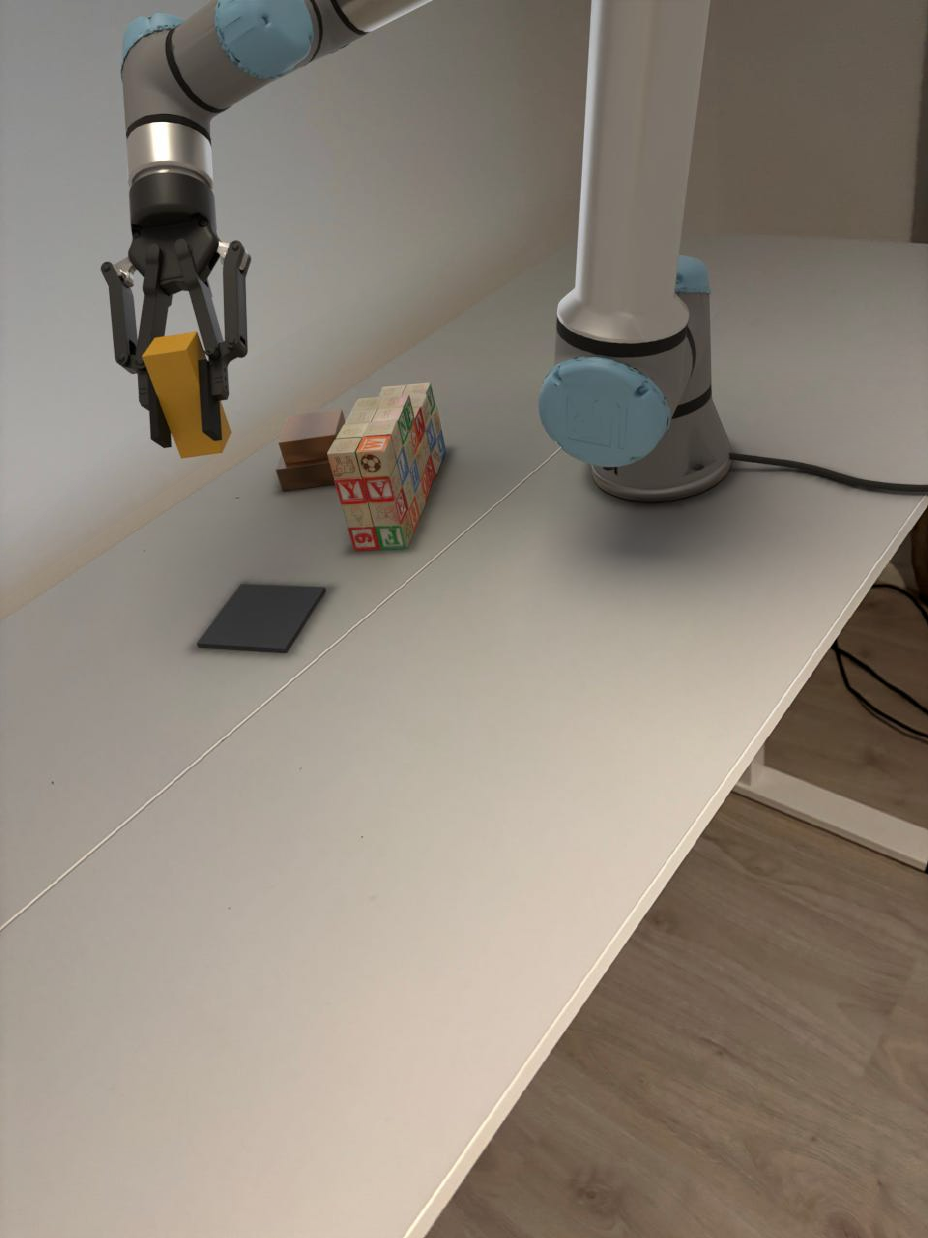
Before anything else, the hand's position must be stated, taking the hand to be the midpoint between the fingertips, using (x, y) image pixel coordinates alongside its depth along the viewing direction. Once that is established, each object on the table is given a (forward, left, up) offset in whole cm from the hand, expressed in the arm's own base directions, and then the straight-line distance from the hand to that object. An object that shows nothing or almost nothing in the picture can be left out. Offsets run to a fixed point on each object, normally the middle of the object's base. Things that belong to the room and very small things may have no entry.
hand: (186, 439), depth 90 cm
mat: (0, -2, -22) cm, 22 cm away
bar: (+1, -4, -3) cm, 5 cm away
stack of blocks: (-7, -25, -22) cm, 34 cm away
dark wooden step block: (+6, -32, -22) cm, 39 cm away
